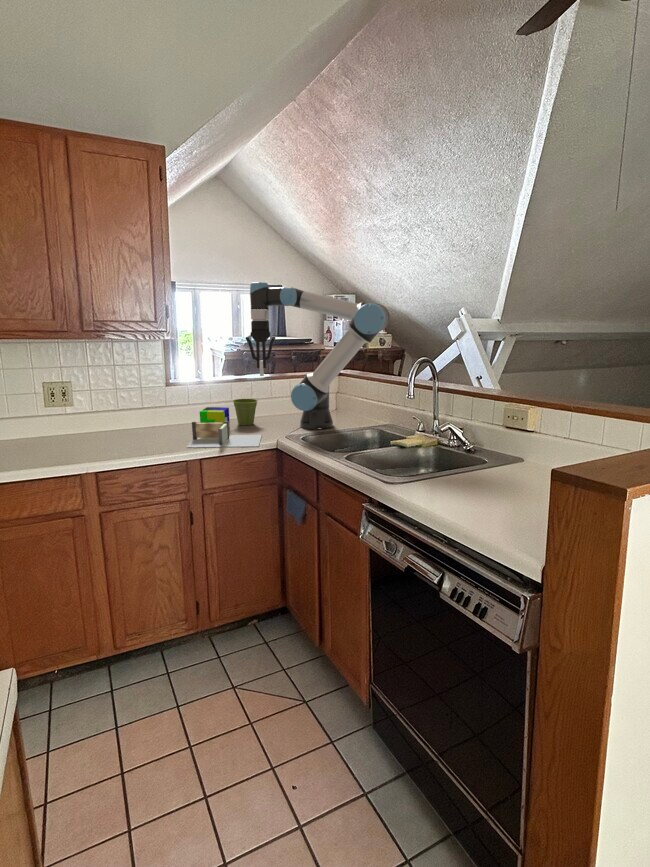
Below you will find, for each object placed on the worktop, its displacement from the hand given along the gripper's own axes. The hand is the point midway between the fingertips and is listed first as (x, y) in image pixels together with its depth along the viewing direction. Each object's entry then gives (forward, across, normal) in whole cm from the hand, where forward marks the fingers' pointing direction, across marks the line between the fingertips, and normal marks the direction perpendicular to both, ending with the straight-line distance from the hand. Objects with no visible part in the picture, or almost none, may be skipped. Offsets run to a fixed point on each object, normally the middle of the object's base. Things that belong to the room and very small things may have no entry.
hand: (261, 375), depth 218 cm
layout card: (+24, +14, +20) cm, 34 cm away
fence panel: (+23, +14, +23) cm, 36 cm away
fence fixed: (+24, +21, +16) cm, 36 cm away
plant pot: (+25, +9, -12) cm, 29 cm away
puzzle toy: (+25, +21, +2) cm, 32 cm away
